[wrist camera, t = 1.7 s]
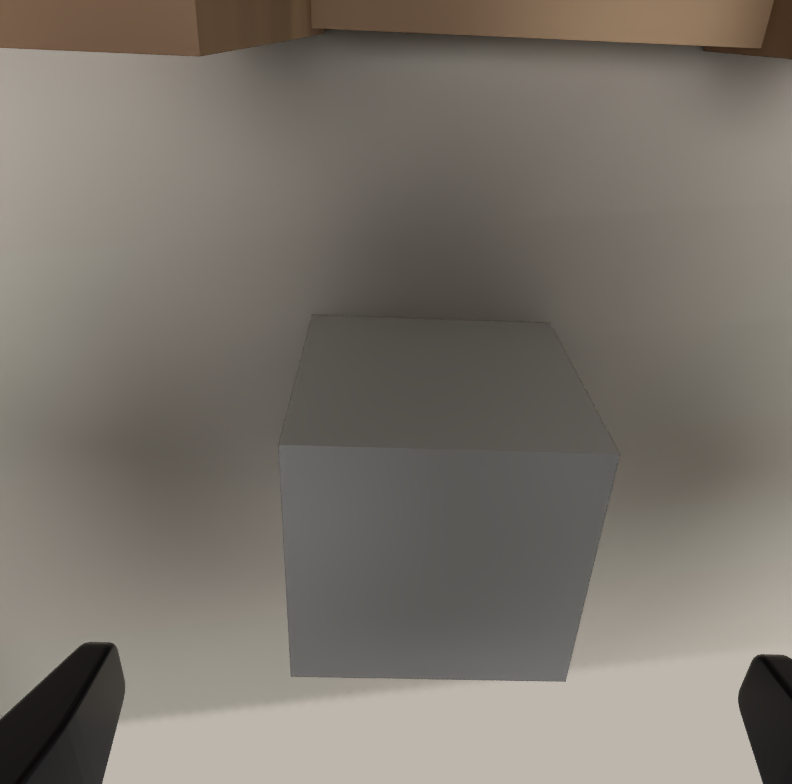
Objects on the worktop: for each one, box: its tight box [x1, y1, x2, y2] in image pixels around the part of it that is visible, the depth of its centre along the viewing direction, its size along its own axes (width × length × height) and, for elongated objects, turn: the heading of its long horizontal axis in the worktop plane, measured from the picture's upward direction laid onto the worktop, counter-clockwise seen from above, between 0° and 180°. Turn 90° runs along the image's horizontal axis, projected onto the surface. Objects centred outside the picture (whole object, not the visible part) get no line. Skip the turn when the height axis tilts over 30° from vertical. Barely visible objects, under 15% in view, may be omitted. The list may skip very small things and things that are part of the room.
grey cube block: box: [278, 315, 620, 682], centre depth 13 cm, size 5×5×5 cm
